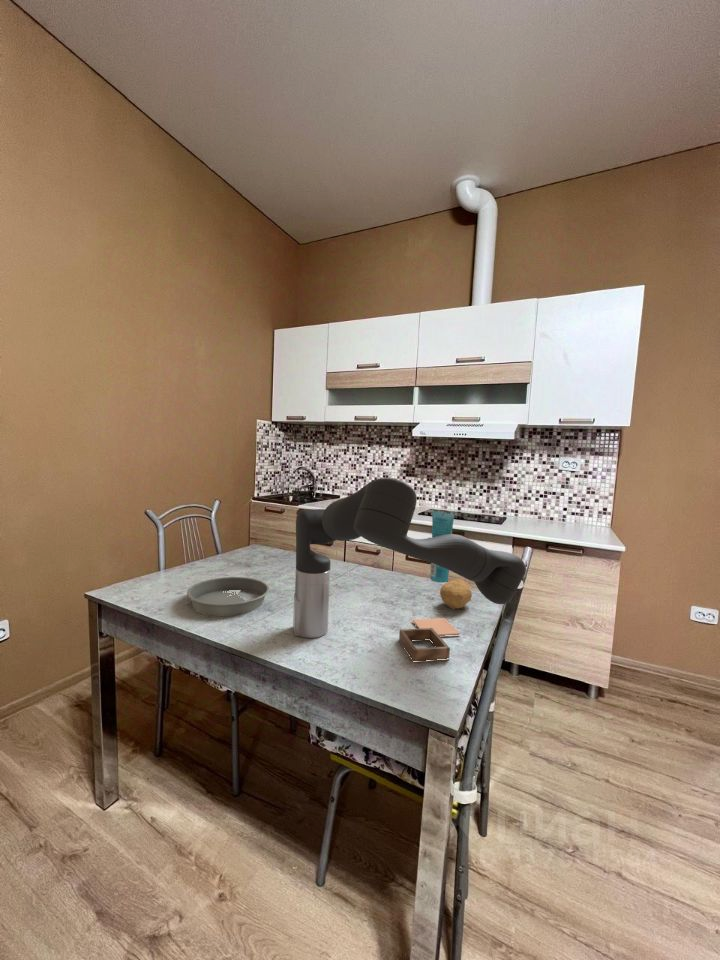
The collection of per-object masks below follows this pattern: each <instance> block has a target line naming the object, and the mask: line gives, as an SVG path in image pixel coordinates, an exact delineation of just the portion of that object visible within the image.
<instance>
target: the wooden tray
mask: <svg viewBox="0 0 720 960" xmlns="http://www.w3.org/2000/svg"><path fill="white" fill-rule="evenodd" d="M398 637H399V638H398V641H399V643H400V642H401V643H400V644H401V645H403V646H402V648H403V649H404V648H405V649H404V651H405V652H406V651H407V652H408V653H407V652H406V653H407V655H408V654H409V655H410V656H409V655H408V656H409V658H410V657H411V658H412V660H413V661H426V660H437V659H447V658H449V659H450V651H451V648H450V646H449V645H448V644H447V643H446V642H445V641H444V640H443V639H442V637H440V636H439V635H438V634H437V633H436V632H435V631H434V629H433V628H420V629H418V628H405V629H404V628H403V629H402V628H401V629H399V636H398ZM425 639H430V640H431V641H432V642H433V644H434V645H435V646H436V647H435V646H434V645H433V644H432V645H433V647H418V648H416V646H415V645H414V643H413V641H412V640H425ZM430 640H429V641H430ZM425 641H426V640H425ZM431 641H430V642H431ZM432 642H431V643H432ZM411 658H410V659H411ZM412 660H411V661H412ZM413 661H412V662H413Z"/></svg>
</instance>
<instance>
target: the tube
mask: <svg viewBox="0 0 720 960" xmlns="http://www.w3.org/2000/svg"><path fill="white" fill-rule="evenodd" d="M431 512H432V517H431V518H432V520H431V521H432V523H431V524H432V527H431V529H432V530H431V538H432V537H436V536H441V535H447V534H453V529H454V527H453V526H454V520H455V513H454V514H453V513H447V512H442V511H437V510H432V511H431ZM449 571H450V570H448V569H446V568H444V567H441V566H438V565H436V564H433V563H430V574H429V575H430V576H429V577H430V581H432V582H434V583H435V582H436V583H439V584H440V583H441V584H442V583H444V584H445V583H447V582H449Z"/></svg>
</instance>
